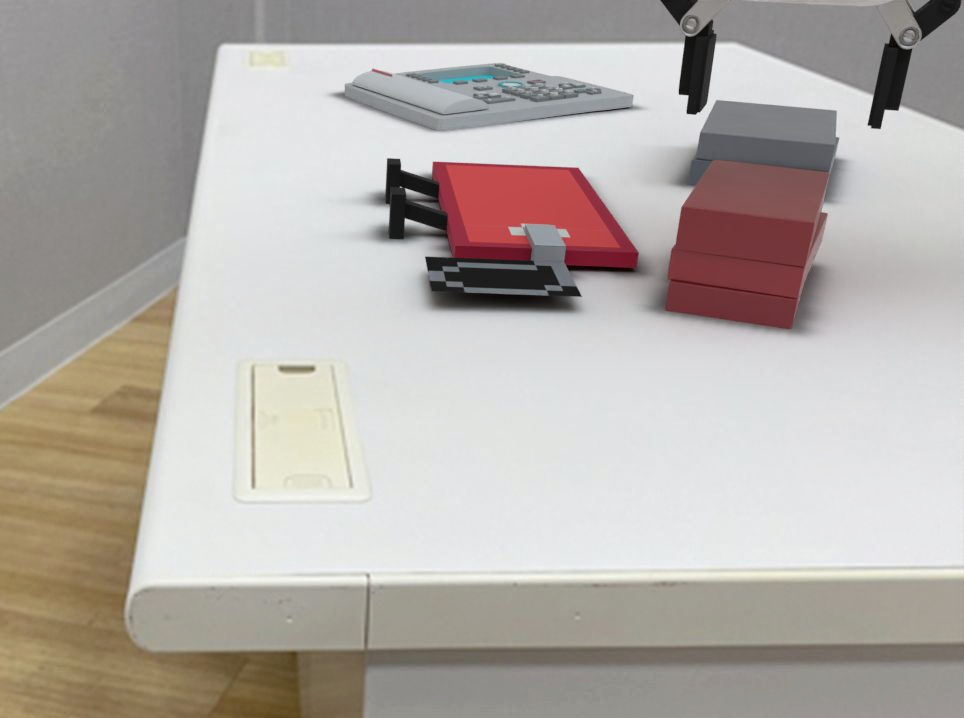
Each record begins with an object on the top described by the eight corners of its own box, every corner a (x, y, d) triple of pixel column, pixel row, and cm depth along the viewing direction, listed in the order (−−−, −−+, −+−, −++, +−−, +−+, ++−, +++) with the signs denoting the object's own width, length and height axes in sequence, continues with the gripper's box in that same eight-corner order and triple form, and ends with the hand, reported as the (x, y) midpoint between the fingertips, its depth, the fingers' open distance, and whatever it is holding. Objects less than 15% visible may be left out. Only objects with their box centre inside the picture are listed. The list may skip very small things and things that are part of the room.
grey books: (822, 202, 90) (834, 146, 88) (681, 185, 93) (690, 131, 91) (834, 161, 101) (846, 111, 99) (708, 147, 104) (717, 98, 102)
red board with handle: (396, 306, 67) (662, 316, 68) (399, 256, 66) (670, 266, 66) (383, 178, 93) (576, 186, 93) (384, 140, 91) (580, 148, 92)
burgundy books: (798, 332, 66) (813, 268, 64) (660, 311, 69) (670, 249, 67) (815, 269, 76) (828, 211, 74) (694, 252, 78) (703, 196, 76)
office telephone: (441, 103, 105) (323, 65, 119) (439, 134, 107) (323, 93, 120) (637, 79, 116) (507, 47, 130) (633, 108, 117) (506, 73, 131)
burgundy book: (805, 267, 65) (815, 222, 63) (674, 249, 67) (681, 205, 65) (821, 212, 74) (830, 172, 73) (706, 198, 76) (713, 159, 75)
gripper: (1041, -257, 58) (950, 115, 67) (680, -252, 63) (641, 93, 73) (1053, -265, 52) (951, 145, 61) (654, -259, 58) (615, 118, 67)
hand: (783, 116), depth 67 cm, fingers open, 9 cm apart
